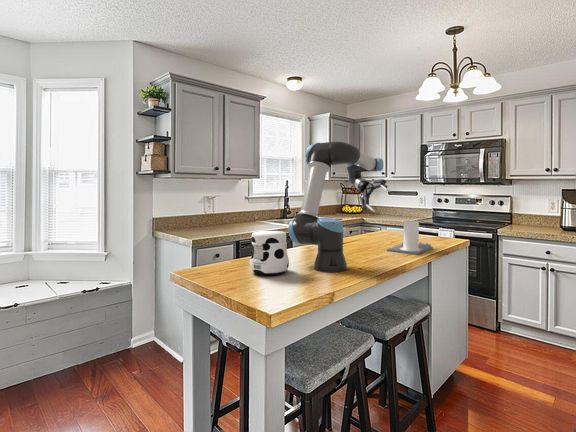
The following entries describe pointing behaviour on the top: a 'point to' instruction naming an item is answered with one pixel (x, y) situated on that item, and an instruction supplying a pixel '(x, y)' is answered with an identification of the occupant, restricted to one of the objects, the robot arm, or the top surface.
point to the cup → (411, 235)
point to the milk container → (269, 252)
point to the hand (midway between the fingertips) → (381, 200)
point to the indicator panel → (421, 249)
